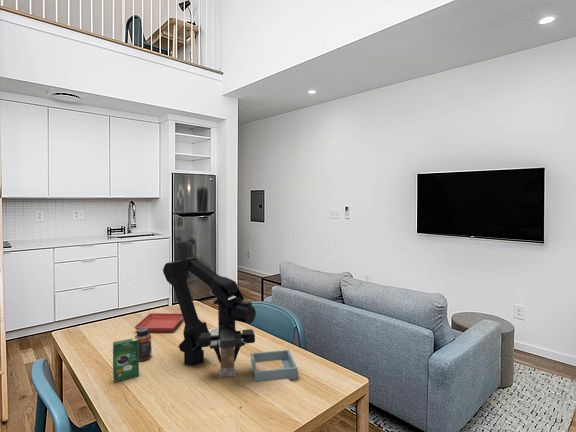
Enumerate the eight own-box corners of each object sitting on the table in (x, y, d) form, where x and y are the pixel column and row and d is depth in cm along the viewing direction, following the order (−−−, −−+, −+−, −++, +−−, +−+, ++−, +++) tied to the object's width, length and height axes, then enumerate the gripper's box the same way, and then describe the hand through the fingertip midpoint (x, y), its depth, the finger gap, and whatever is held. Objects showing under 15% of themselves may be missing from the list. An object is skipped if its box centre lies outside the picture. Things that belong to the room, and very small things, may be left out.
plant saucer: (173, 334, 161) (173, 327, 161) (133, 334, 162) (133, 327, 161) (185, 319, 179) (185, 313, 179) (149, 319, 180) (149, 313, 179)
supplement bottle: (155, 356, 139) (154, 327, 138) (143, 363, 134) (142, 333, 133) (143, 353, 142) (143, 325, 141) (131, 359, 136) (130, 330, 135)
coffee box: (138, 372, 127) (137, 336, 126) (140, 376, 124) (138, 339, 124) (113, 379, 122) (111, 341, 122) (114, 382, 120) (113, 344, 119)
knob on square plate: (219, 380, 121) (219, 371, 121) (219, 372, 127) (219, 363, 126) (235, 379, 122) (235, 369, 122) (234, 371, 128) (234, 362, 127)
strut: (221, 377, 122) (220, 348, 121) (220, 370, 126) (220, 343, 125) (234, 375, 123) (234, 347, 122) (233, 369, 127) (233, 341, 126)
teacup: (205, 344, 150) (204, 331, 150) (218, 338, 157) (218, 325, 156) (221, 350, 144) (221, 337, 144) (235, 343, 151) (235, 331, 150)
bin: (255, 384, 119) (255, 372, 119) (250, 363, 133) (250, 353, 133) (297, 379, 122) (297, 368, 122) (288, 359, 136) (288, 349, 136)
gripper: (197, 328, 113) (198, 376, 114) (256, 324, 117) (257, 370, 118) (199, 316, 124) (199, 360, 125) (253, 313, 128) (253, 355, 129)
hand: (227, 361), depth 124 cm, fingers closed on strut, 4 cm apart
